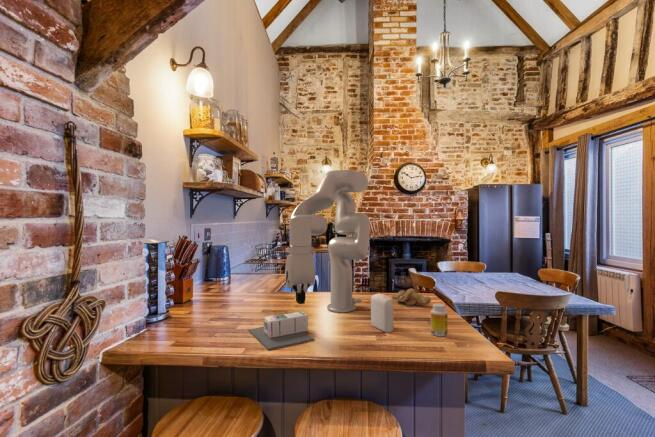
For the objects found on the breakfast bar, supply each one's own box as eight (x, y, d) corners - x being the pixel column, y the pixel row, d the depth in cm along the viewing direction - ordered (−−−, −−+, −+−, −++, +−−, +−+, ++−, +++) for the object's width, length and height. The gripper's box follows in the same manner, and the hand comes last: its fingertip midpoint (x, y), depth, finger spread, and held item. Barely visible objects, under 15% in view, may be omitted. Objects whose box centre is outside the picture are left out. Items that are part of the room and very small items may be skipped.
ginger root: (389, 296, 167) (393, 280, 167) (420, 304, 166) (424, 288, 166) (393, 306, 151) (398, 289, 151) (428, 315, 151) (433, 297, 150)
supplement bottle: (448, 337, 115) (448, 307, 115) (430, 336, 116) (430, 306, 116) (446, 332, 120) (446, 303, 120) (430, 330, 122) (430, 302, 122)
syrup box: (308, 314, 120) (268, 320, 113) (308, 331, 120) (268, 338, 113) (301, 310, 125) (263, 316, 118) (301, 326, 125) (263, 333, 118)
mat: (289, 323, 130) (289, 322, 130) (314, 340, 113) (314, 338, 113) (248, 331, 122) (248, 329, 122) (268, 350, 105) (268, 348, 105)
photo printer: (369, 325, 128) (369, 292, 128) (378, 323, 130) (378, 291, 130) (385, 333, 119) (385, 298, 119) (395, 331, 121) (395, 297, 121)
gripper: (314, 248, 126) (314, 298, 126) (276, 251, 118) (276, 303, 118) (324, 250, 119) (324, 302, 120) (285, 253, 112) (285, 308, 112)
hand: (300, 303), depth 119 cm, fingers closed
